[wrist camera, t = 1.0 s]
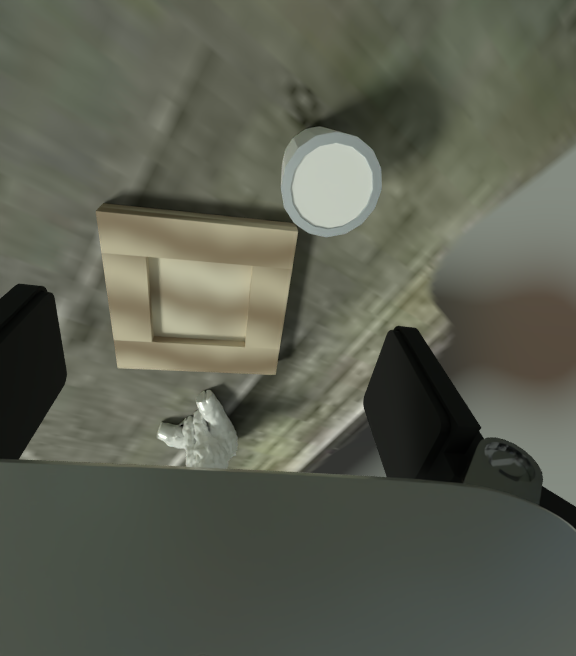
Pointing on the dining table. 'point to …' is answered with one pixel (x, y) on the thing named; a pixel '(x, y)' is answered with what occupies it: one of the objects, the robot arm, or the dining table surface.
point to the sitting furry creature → (203, 434)
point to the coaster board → (195, 288)
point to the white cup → (329, 181)
